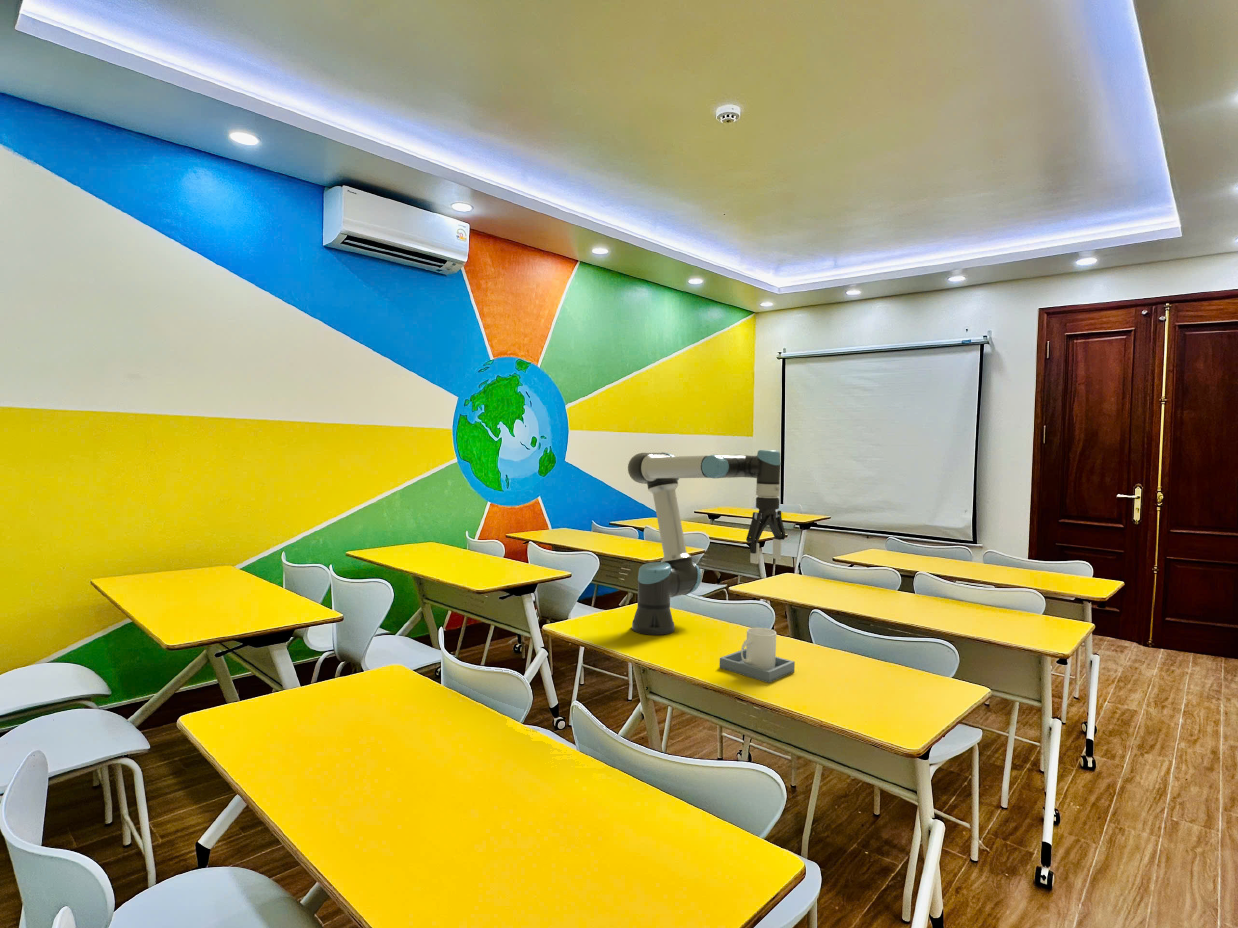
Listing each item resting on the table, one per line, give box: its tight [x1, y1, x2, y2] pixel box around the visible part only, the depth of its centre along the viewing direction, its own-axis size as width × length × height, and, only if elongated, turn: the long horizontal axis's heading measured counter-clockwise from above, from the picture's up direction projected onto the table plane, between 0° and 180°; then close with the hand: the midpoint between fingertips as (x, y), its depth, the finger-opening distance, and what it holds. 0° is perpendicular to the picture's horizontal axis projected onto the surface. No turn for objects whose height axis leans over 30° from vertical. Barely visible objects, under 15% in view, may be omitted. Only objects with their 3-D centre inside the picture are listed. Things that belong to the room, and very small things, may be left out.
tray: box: [719, 648, 796, 684], centre depth 199 cm, size 17×14×3 cm
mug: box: [740, 627, 777, 671], centre depth 199 cm, size 9×12×11 cm
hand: (765, 560), depth 221 cm, fingers open, 13 cm apart
